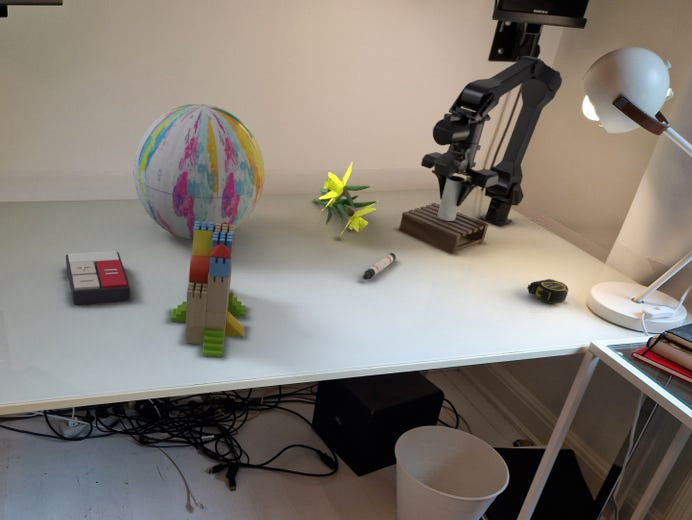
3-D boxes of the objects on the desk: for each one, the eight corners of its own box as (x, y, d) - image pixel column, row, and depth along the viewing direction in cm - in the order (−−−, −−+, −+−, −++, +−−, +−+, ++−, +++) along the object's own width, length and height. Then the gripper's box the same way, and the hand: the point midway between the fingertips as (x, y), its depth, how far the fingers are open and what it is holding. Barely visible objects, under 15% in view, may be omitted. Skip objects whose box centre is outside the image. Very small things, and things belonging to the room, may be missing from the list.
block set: (180, 279, 138) (183, 191, 127) (246, 284, 138) (255, 197, 127) (163, 352, 115) (165, 252, 104) (242, 359, 115) (252, 260, 104)
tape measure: (546, 290, 148) (552, 275, 146) (570, 304, 143) (576, 289, 141) (524, 294, 145) (530, 279, 143) (547, 308, 140) (553, 293, 138)
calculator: (72, 288, 123) (65, 250, 135) (73, 307, 126) (66, 269, 137) (130, 284, 127) (118, 248, 138) (130, 303, 129) (118, 265, 140)
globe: (236, 208, 174) (245, 90, 157) (276, 257, 151) (292, 124, 134) (124, 213, 165) (121, 88, 148) (148, 266, 142) (147, 125, 125)
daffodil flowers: (363, 207, 185) (398, 222, 152) (317, 232, 186) (342, 252, 153) (338, 152, 180) (368, 156, 147) (290, 178, 181) (310, 188, 148)
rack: (430, 220, 178) (434, 202, 175) (483, 242, 168) (489, 224, 165) (398, 230, 170) (402, 212, 167) (451, 254, 160) (457, 235, 157)
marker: (387, 259, 155) (389, 251, 154) (394, 261, 154) (396, 254, 153) (358, 281, 144) (360, 272, 143) (366, 284, 143) (368, 275, 142)
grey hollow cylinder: (456, 217, 167) (467, 177, 161) (453, 222, 164) (464, 183, 158) (438, 213, 169) (449, 174, 163) (435, 218, 165) (445, 179, 159)
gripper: (414, 134, 156) (400, 196, 165) (481, 156, 145) (463, 221, 154) (442, 128, 163) (427, 189, 171) (508, 149, 151) (488, 213, 160)
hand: (450, 202), depth 164 cm, fingers closed on grey hollow cylinder, 4 cm apart
